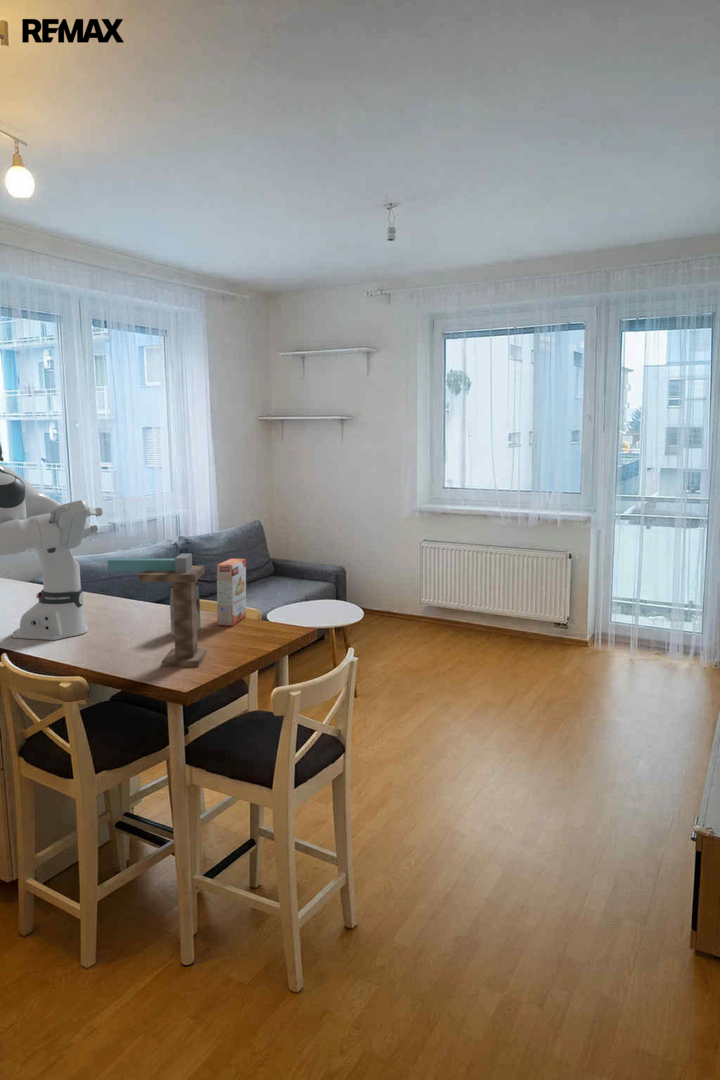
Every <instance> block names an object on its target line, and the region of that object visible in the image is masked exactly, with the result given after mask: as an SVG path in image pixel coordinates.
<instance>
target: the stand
mask: <svg viewBox="0 0 720 1080" xmlns="http://www.w3.org/2000/svg"><path fill="white" fill-rule="evenodd" d="M205 573H206V566H205V565H192V568H191V569H190V570H189V571H188V572H186V573H175V571H141V573H139V577H138V580H139V581H138V583H172V585H173V602H174V632H175V635H174V648H171V649H170V651H168V653H167V654H166V655H165V657H164V658H163V659H162V660H161V667H163V668H165V667H166V668H171V667H172V668H173V667H175V668H176V667H184V668H185V667H187V668H188V667H192V668H193V667H197V668H198V667H200V665H201V664H202V661H203V660H204V659H205V657H206V655H207V654H206V653H207V648H206V647H205V648H202V647H201V648H198V631H197V616H196V582H198V580H199V579H200V578H201V577H202V576H203V575H204V574H205ZM203 658H204V659H203Z"/></svg>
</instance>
